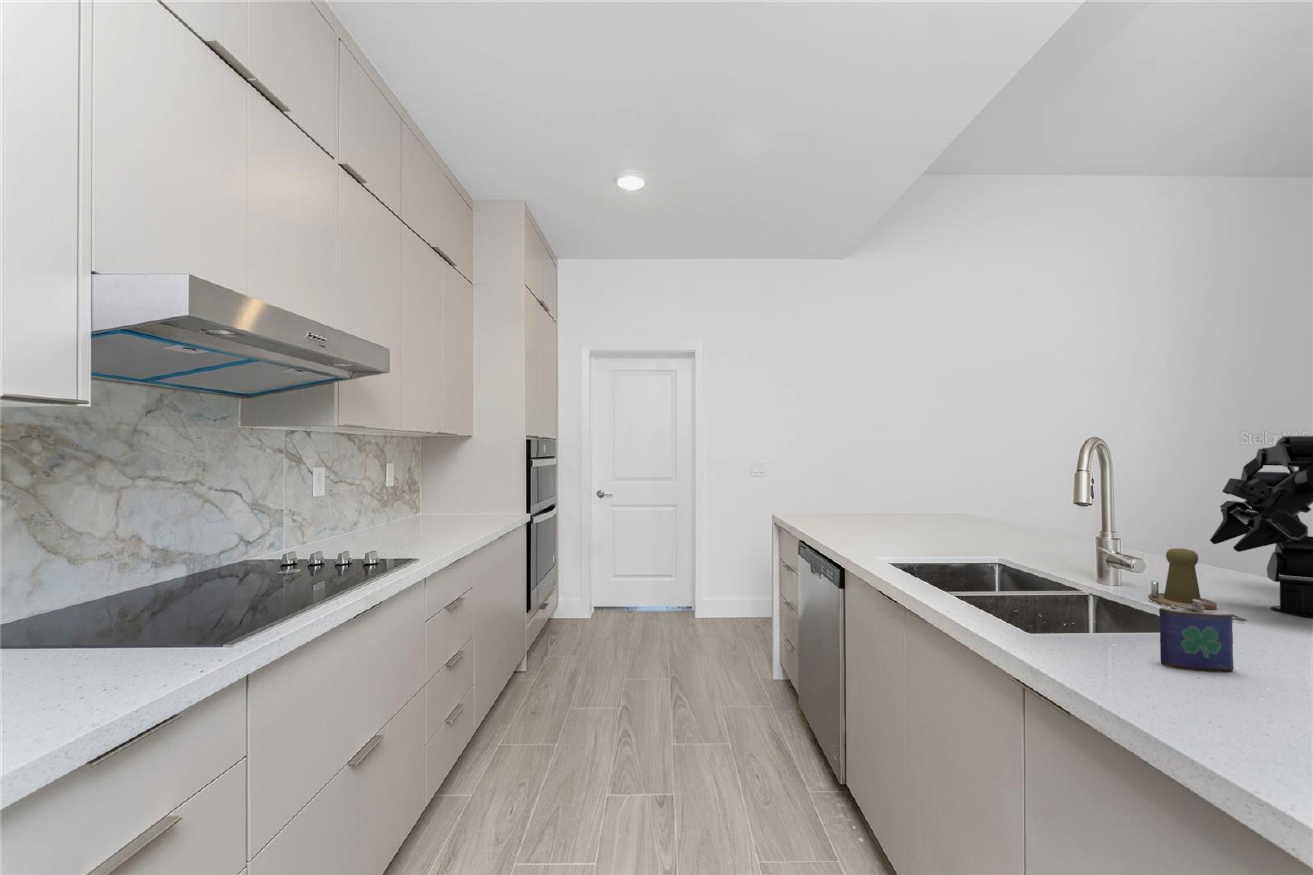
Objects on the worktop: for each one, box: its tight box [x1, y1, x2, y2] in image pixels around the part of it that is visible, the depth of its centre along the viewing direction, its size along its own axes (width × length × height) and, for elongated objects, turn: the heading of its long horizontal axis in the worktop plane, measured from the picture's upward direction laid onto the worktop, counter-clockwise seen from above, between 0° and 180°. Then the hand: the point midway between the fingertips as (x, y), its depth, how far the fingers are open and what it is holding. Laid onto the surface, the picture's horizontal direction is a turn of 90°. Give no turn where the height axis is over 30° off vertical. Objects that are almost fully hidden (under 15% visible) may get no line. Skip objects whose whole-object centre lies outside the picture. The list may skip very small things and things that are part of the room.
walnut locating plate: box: [1147, 580, 1218, 610], centre depth 126 cm, size 11×11×4 cm
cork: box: [1164, 547, 1202, 604], centre depth 126 cm, size 6×6×11 cm
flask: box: [1158, 599, 1235, 673], centre depth 91 cm, size 9×3×11 cm, turn 74°
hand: (1223, 546), depth 119 cm, fingers open, 9 cm apart
